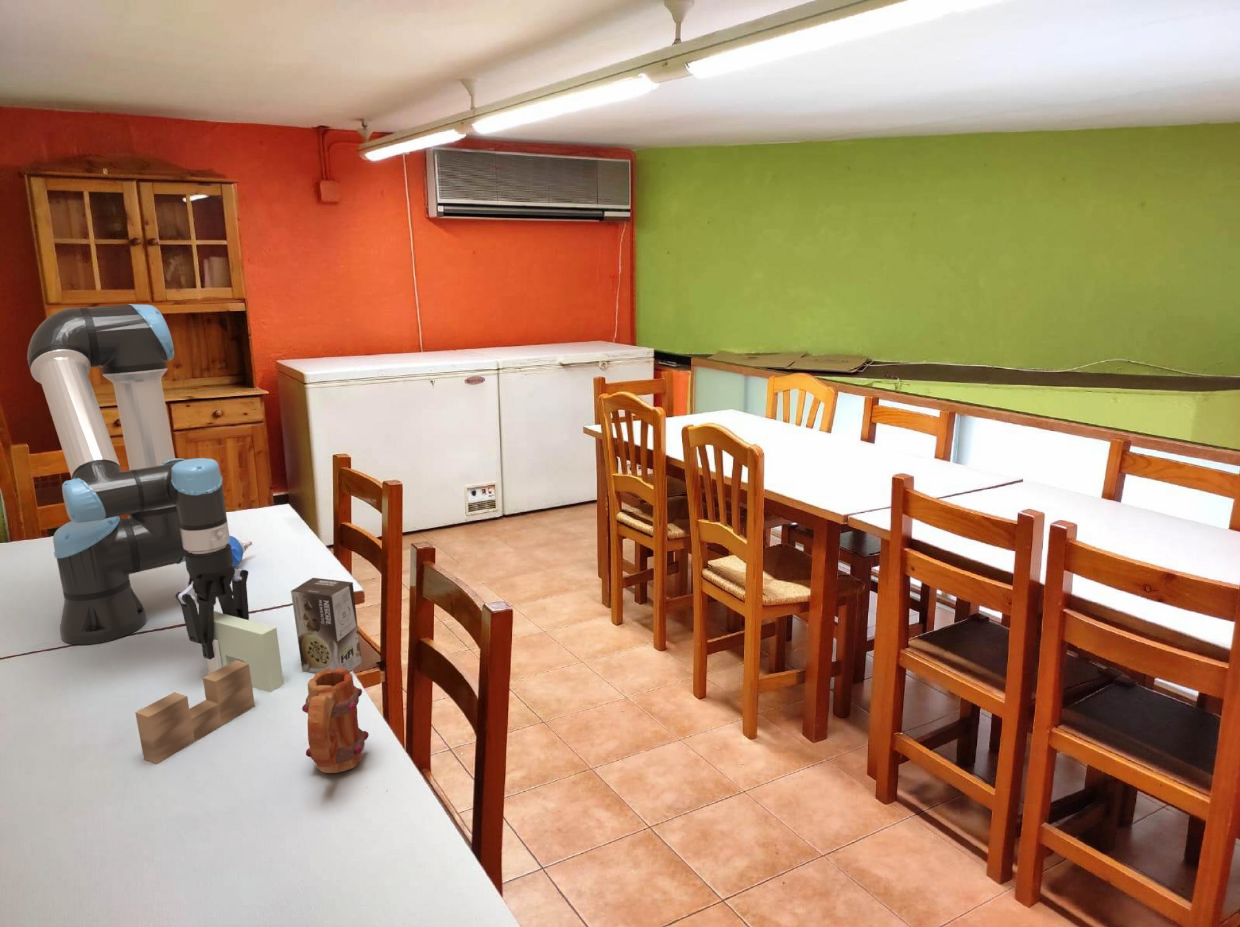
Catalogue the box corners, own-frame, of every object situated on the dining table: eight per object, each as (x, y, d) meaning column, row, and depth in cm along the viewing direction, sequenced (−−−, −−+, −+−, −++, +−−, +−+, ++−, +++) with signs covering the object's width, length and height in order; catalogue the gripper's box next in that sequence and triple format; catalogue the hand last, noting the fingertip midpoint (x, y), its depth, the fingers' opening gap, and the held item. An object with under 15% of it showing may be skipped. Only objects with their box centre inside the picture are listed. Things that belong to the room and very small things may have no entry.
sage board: (208, 672, 154) (199, 617, 151) (222, 665, 157) (214, 611, 154) (270, 691, 147) (262, 634, 144) (283, 684, 150) (276, 627, 147)
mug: (320, 746, 131) (309, 659, 127) (373, 743, 131) (364, 656, 128) (293, 807, 117) (280, 711, 113) (353, 803, 117) (342, 707, 114)
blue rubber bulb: (269, 563, 207) (265, 531, 205) (224, 579, 198) (219, 545, 195) (239, 554, 213) (235, 523, 211) (195, 570, 204) (190, 537, 202)
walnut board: (156, 763, 127) (148, 716, 125) (143, 758, 129) (135, 712, 126) (254, 706, 143) (248, 663, 141) (242, 702, 144) (236, 659, 142)
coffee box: (363, 661, 157) (354, 581, 153) (341, 678, 151) (332, 595, 147) (322, 655, 160) (313, 576, 156) (299, 671, 154) (289, 589, 150)
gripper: (179, 566, 139) (200, 693, 145) (260, 535, 153) (276, 652, 159) (150, 559, 143) (171, 683, 149) (232, 529, 157) (248, 644, 163)
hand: (225, 667), depth 154 cm, fingers open, 3 cm apart
